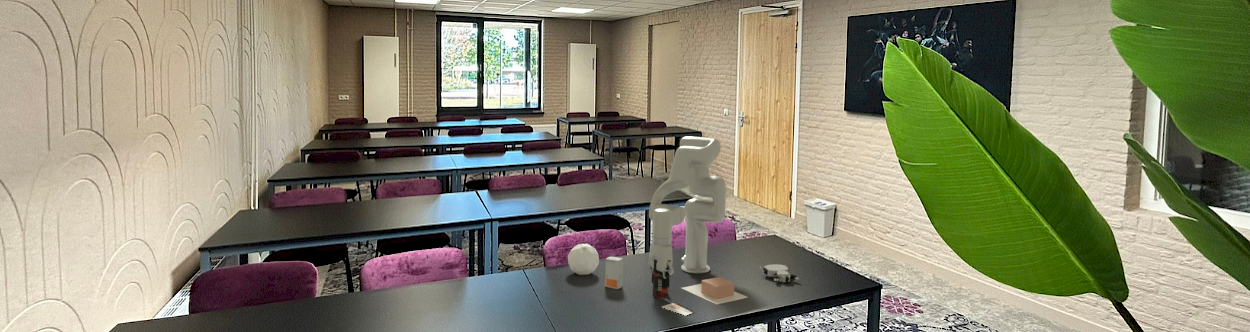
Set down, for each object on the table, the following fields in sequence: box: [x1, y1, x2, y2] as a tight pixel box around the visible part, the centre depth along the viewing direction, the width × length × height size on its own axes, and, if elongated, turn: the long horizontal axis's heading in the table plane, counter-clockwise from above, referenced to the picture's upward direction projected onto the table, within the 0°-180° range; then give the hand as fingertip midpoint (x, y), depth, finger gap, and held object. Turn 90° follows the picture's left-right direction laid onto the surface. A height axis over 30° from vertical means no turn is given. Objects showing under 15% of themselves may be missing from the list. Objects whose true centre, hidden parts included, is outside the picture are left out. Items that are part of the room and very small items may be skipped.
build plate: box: [681, 283, 749, 305], centre depth 286 cm, size 22×16×1 cm
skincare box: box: [604, 256, 624, 290], centre depth 293 cm, size 6×4×12 cm
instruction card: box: [661, 301, 696, 317], centre depth 270 cm, size 12×9×1 cm
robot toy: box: [759, 264, 800, 283], centre depth 309 cm, size 12×4×15 cm
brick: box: [700, 276, 735, 299], centre depth 284 cm, size 9×9×5 cm
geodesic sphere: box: [567, 243, 600, 276], centre depth 308 cm, size 14×14×14 cm
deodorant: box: [652, 259, 669, 299], centre depth 283 cm, size 6×6×15 cm
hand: (660, 284), depth 284 cm, fingers closed on deodorant, 5 cm apart
